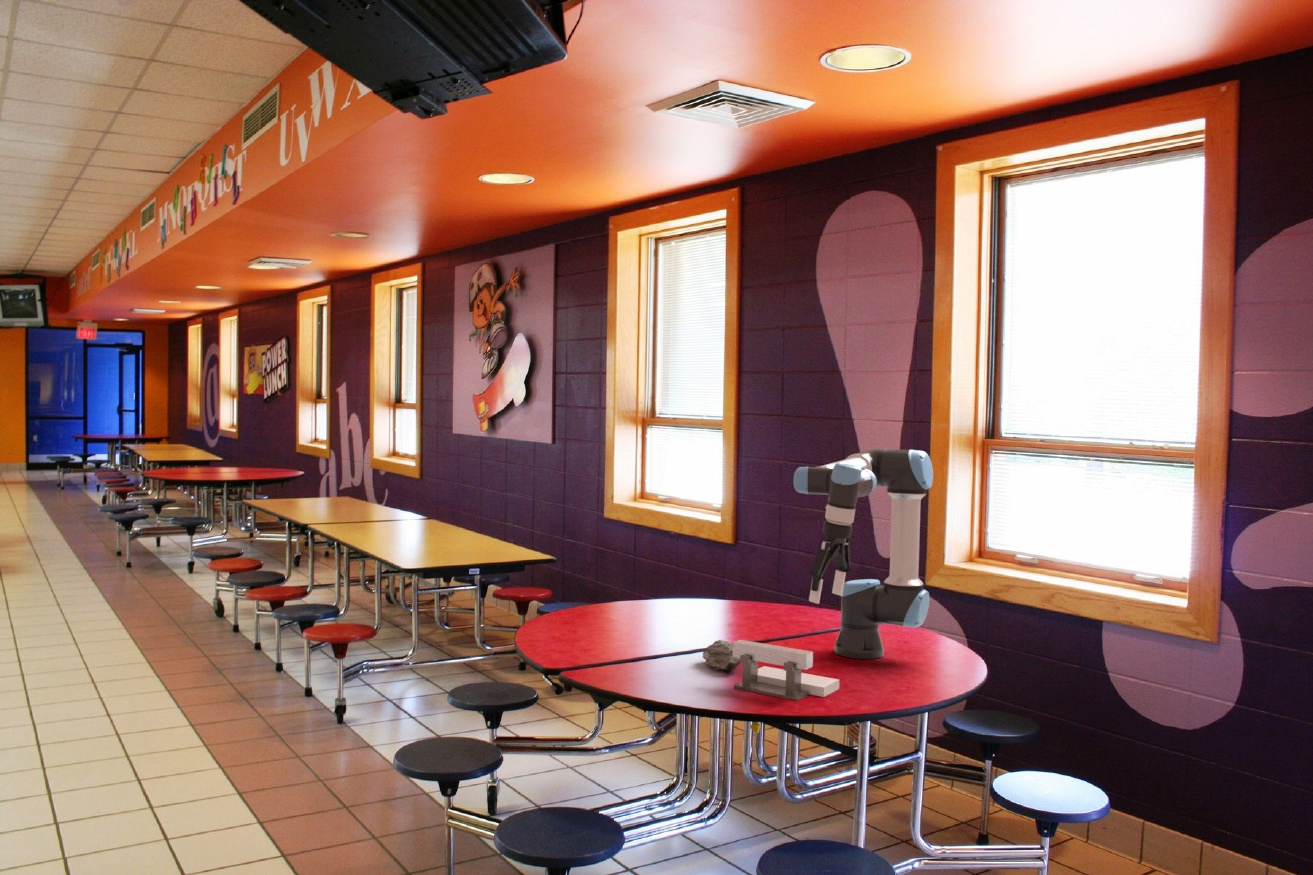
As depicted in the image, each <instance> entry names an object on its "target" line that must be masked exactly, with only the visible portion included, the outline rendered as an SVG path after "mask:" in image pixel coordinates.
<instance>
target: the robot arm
mask: <svg viewBox="0 0 1313 875" xmlns="http://www.w3.org/2000/svg"><path fill="white" fill-rule="evenodd" d="M933 481H934V468H933V463H932V461H931V458H930V456H929V455H928V453H927V452H926V451H923V450H917V449H916V450H915V449H890V448H889V449H886V448H885V449H884V448H875V449H868V450H865V451H861V452H857V453H852V454H850V455H848V456H847V457H846V458H845V459H842V460H838V461H834V462H831V463H828V464H824V465H818V466H815V467H814V466H813V467H812V466H799V467H797V469H796V470H795V471H794V474H793V487H794V490H795V491H796V492H797V493H799V494H806V495H820V496H821V495H824V496H825V495H826V496H828V498H827V504H826V505H825V516H824V518H825V520H824V521H823V526H822V532H821V533H822V534H823V535H824V536H825V537H826V540H825V541H824V540H820V541H819V544H818V548H817V551H816V554H815V557H814V559H813V561H812V563H811V564H812V565H811V567H810V570H809V572H808V577H809V578H812V579H811V583H810V584H811V585H810V591H809V596H808V601H809V603H810V602H811V603H814V604H816V605H817V604H818V605H819V604H820V601H821V595H822V594H821V593H822V590H823V582H824V579H823V578H824V577H823V576H824V574H825V573H826V571H827V568H828V567H829V565H830V563H831V561H832V560H834V559H835V563H836V567H837V569H836V570H835V573H834V578H833V579H834V580H833V584H832V591H831V594H834V595H837V596H840V597H841V602H840V604H841V605H840V606H841V607H840V629H839V632H838V635H837V638H836V641H835V644H834V653H835V654H836V655H839V656H842V657H845V658H849V659H859V660H862V659H863V660H869V659H870V660H871V659H879V658H882V657H884V655H885V654H884V652H885V651H884V645H883V641H882V638H881V634H880V631H879V624H883V625H891V626H892V625H893V626H898V627H902V628H919V627H921V626H922V625H923V624H924V622H925V621H926V618H927V616H928V613H929V607H930V599H931V598H930V593H929V591H927V590H926V589H924V582H923V581H922V580H921V579H920V578H919V566H920V565H919V564H920V535H921V534H920V531H921V530H920V529H921V528H920V527H921V503H922V502H921V500H922V499H923V498H924V497H925V496H926V495H927V491H928V490H929V489H931V488H932V486H933V483H934V482H933ZM876 487H886V488H887V489H886V493H887V495H888V496H889V497H890V499H891V515H890V516H891V521H890V548H889V549H890V551H889V555H890V558H889V575H888V577H886V578H885V580H884V582H883V583H884V584H883V585H881V581H880V580H879V579H875V578H873V579H872V578H866V579H865V578H864V579H854V580H849V581H846V580H845V579H846V574H847V573H848V574H849V573H850V572H851V568H852V563H851V562H852V561H851V559H852V558H851V536H852V533H853V532H852V530H853V525H852V524H853V523H854V520H855V514H856V508H857V506H856V505H857V501H858V498H864V497H868V496H869V495H871V494H872V493H873V492H874V491H875V490H876Z"/></svg>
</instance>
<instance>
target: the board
mask: <svg viewBox="0 0 1313 875" xmlns="http://www.w3.org/2000/svg"><path fill="white" fill-rule="evenodd" d="M757 682H761V683H766V684H771V685H776V686H782V687H786V671H784V668H776V667H770V666H765V665H763V666H762V667H758V681H757ZM839 689H840V679H839V678H838V679H837V678H832V677H826V676H821V675H815V674H809V673H805V672H801V690H803V691H808V692H809V695H813V696H817V697H822V698H824V697H826V696H828V695H830V694H833V693H834V692H836V691H837V690H839Z"/></svg>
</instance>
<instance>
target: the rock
mask: <svg viewBox="0 0 1313 875" xmlns="http://www.w3.org/2000/svg"><path fill="white" fill-rule="evenodd" d="M732 655H733V643H731V642H730V641H727V640H724V639H719V640H715V641H714V642H713V643H712V644H709V645H708V646H707V647H706V648H705V650H703V653H702V658H703V659H704V660H705V663H706V664H707V665H709V666H711V667H713V668H714V669H716V670H726V671H728V672H729V671H730V672H731V671H733V670H735V668H736V667H737V666H739V665H740V664H741V663H740V658H736V657H732Z"/></svg>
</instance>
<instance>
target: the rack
mask: <svg viewBox="0 0 1313 875" xmlns="http://www.w3.org/2000/svg"><path fill="white" fill-rule="evenodd" d="M740 664H742V676H741V677H742V681H740V682H738V683H735V684H734V685H733V689H738V690H742V691H745V692H746V691H747V692H753V693H757V694H761V695H762V694H763V695H767V696H771V697H776V698H781V699H786V700H792V701H796V702H797V701H800V700H802V699H804V698H805V697H808V696H809V695H810V694H809V692H808V691H803V690H801V673H802V669H798V668H794V664H793V663H787V662H785V663H784V666H783V670H784V671H786V687H782V686H776V685H771V684H766V683H761V682H757V681H758V669H759V661H753V660H750V656H747V655H740Z"/></svg>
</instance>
